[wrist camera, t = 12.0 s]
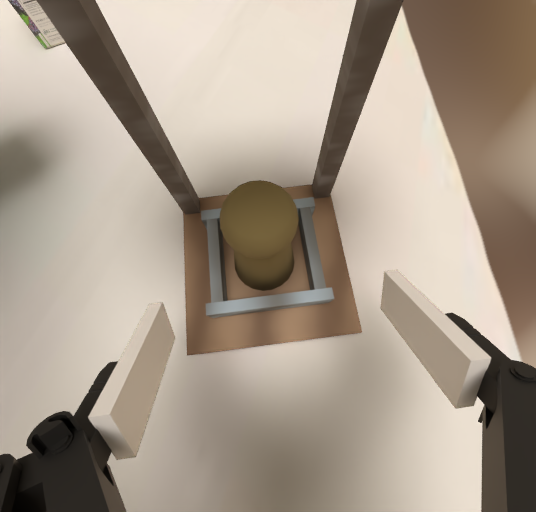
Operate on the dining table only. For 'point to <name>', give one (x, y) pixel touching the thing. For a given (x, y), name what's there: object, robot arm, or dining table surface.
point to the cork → (260, 233)
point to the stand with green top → (208, 209)
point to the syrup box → (38, 22)
